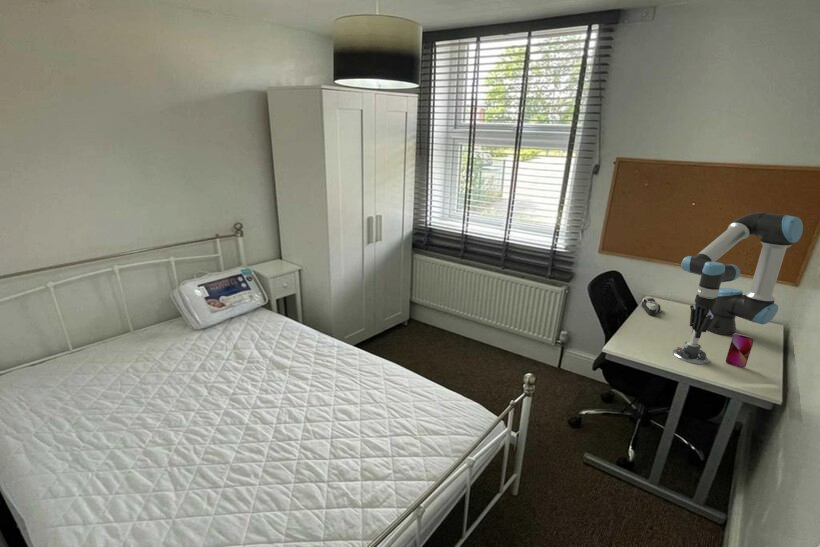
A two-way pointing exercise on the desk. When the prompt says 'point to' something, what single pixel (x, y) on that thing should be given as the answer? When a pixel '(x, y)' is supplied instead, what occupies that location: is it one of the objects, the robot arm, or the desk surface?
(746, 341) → the smartphone
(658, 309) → the camera
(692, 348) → the dark grey short cylinder
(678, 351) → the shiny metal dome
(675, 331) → the desk surface
